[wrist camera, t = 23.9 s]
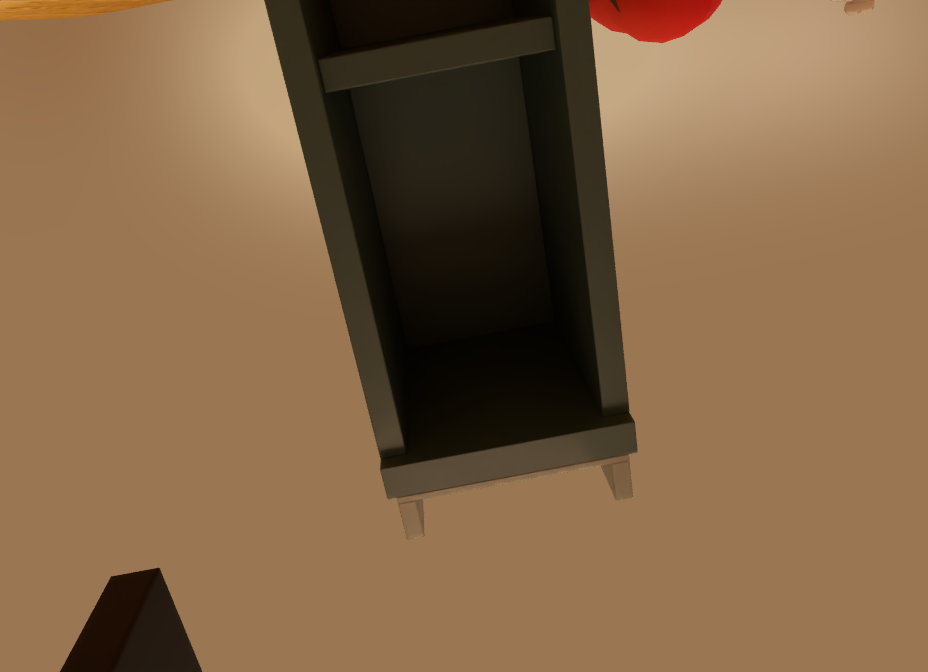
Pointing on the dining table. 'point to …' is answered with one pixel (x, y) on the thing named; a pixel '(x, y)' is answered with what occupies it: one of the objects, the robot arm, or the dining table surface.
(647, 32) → the tomato
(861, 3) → the teacup with lid
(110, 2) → the dining table surface
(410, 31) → the stand
